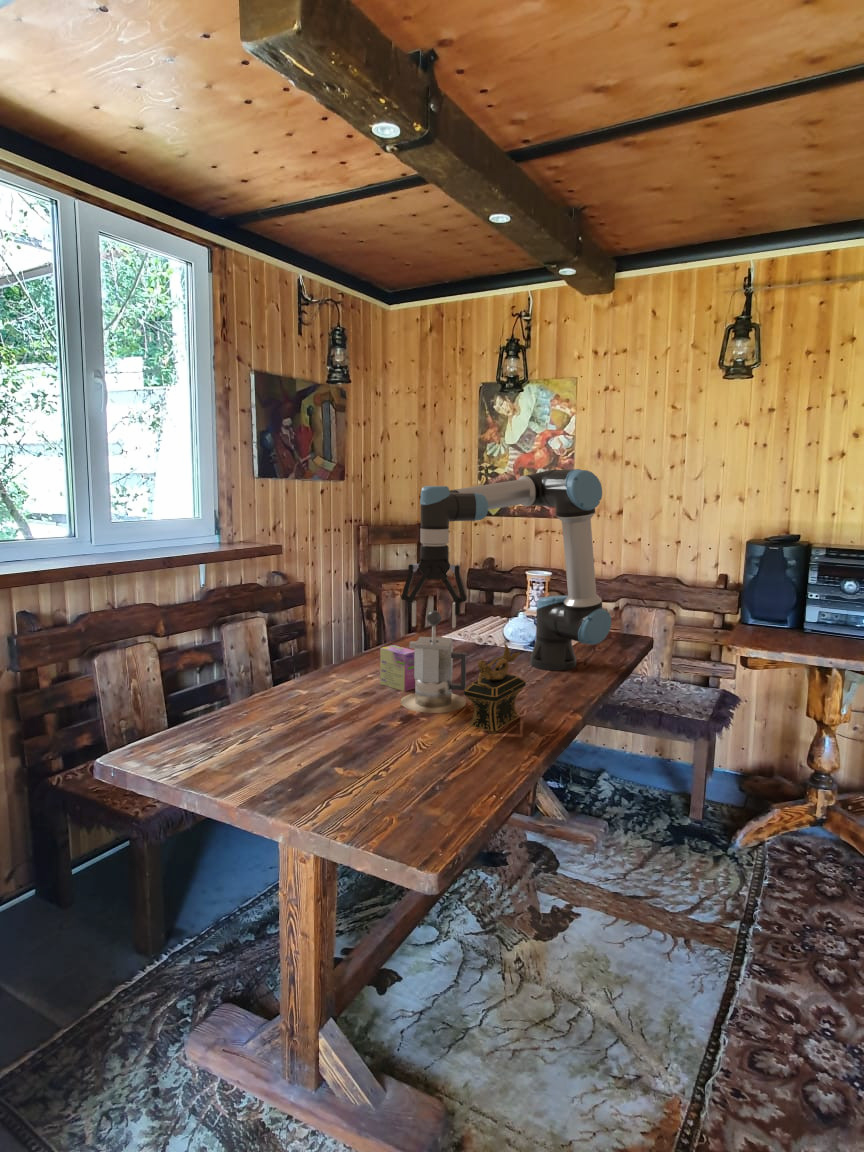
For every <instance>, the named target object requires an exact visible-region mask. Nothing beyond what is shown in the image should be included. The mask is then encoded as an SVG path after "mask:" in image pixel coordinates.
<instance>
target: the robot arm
mask: <svg viewBox="0 0 864 1152" xmlns="http://www.w3.org/2000/svg"><path fill="white" fill-rule="evenodd" d="M602 496H603V487H602V483H601V481H600V479H599V478H598V476H597V475H596V474H595V473H594V472H592V471H590V470H586V469H580V468H574V469H573V468H571V469H548V470H543V471H539V472H535V473H530V474H525V475H521V476H519V477H518V478H517V479H515V480H509V481H501V482H495V483H489V484H483V485H476V486H468V487H463V488H456V489H450V488H449V487H448V486H447V485H445V486H444V485H425V486H422V488H421V491H420V500H419V501H420V502H419V505H420V533H419V534H420V536H419V537H420V539H419V540H420V541H419V542H420V543H421V544H422V545H420V546H419V547H420V553H419V554H420V556H419V557H420V560H419V563H410V564H408V567H407V569H408V573H407V577H406V580H405V584H404V586H403V590H402V593H401V597H400V599H401V600H403V601H406V602H407V613H408V614H410V615H411V627H416V625H417V601H416V600H414V599H415V598H416V596H417V595H418V593H419V591H420V589H421V588H422V586H423V584H425V582H426V580H438V581H439V580H441V581H442V583H443V584H444V586H445V587H446V589H447V591H448V593H449V594H450V596H451V598H452V599H453V602H452V605H451V608H452V609H451V611H452V612H451V613H452V614H451V628H452V629H455V628H456V626H457V616H459V615H460V614H461V603H464V602H466V601H467V599H468V596H467V593H466V589H465V587H464V582H463V579H462V576H461V565H460V564H451V563H450V562H449V561H450V559H449V557H450V556H449V553H450V552H449V550H450V549H449V545H447V544H448V543H450V541H449V539H450V537H449V535H450V529H449V528H450V526H449V525H450V522H470V521H471V522H475V521H476V522H477V521H482V520H483V519H485V518H486V516H487V514H488V512H489V510H490V511H491V510H495V509H501V508H508V507H513V506H520V505H521V506H523V507H526V508H527V507H534V506H535V507H536V506H537V507H549V508H555V516H556V517H557V519H559V521H561V525H562V529H561V530H562V540H563V550H564V551H563V552H564V562H565V576H566V582H567V585H566V586H567V587H566V588H567V595H549V596H542V597H540V598H538V600H537V606H536V609H535V611H536V622H535V623H536V624H535V625H536V630H535V631H536V632H535V635H536V636H535V637H536V638H535V643H534V645H533V649H532V651H531V653H530V658H529V664H530V665H531V666H532V667H534V668H536V669H541V670H547V671H567V670H572V669H575V668H576V667H577V657H576V653H575V651H574V646H573V643H572V641H574V642H577V643H581V644H583V645H589V646H594V645H598V644H600V643H602V642H603V641H604V640H605V639H606V637H607V636H608V634H609V633H610V631H611V627H612V617H611V614H610V612H609V611H608V610H606V609H604V608H603V599H602V598H601V597H600V596H599V595H598V594H597V585H596V572H595V558H594V545H593V543H594V542H593V531H592V517H594V515H595V514H596V508H597V507H598V506H599V504H600V503H601V502H600V501H601V500H602V499H603V497H602ZM417 570H419V571H420V572H421V573H422V575H421V577H420V579H419V580H418V582H417V583H416V585H415V587H414V588H413V590H412V592H411V593H410V595H409V591H410V589H411V586H412V585H411V584H412V581H413V578H414V575H415V573H416V572H417ZM449 570H450V571H451V573H453V574H454V578H455V581H456V585H457V589H458V592H459V595H460V597H459V595H458V593H457V591H456V590H455V587H454V586H453V584H452V582H451V580H450V578H449V577H448V575H447V573H448V572H449Z"/></svg>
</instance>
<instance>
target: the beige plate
mask: <svg viewBox="0 0 864 1152" xmlns="http://www.w3.org/2000/svg"><path fill="white" fill-rule="evenodd" d="M466 703H467V700H466V698H464V697H463V696H461V695H459V694H455V693H452V702H451V704H450V705H448V706H444V707H438V708H430V707H423V706H420V705H418V704H416V703H415V692H414V693H410V694H407V695H405V696H403V697H402V698H401V700H400V704H401V706H403V707H404V708H406V709H407V710H410V711H413V712H414V711H415V712H417V713H429V714H441V713H451V712H454V711H458V710H459V709H462V708H463V707H465V706H466Z"/></svg>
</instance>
